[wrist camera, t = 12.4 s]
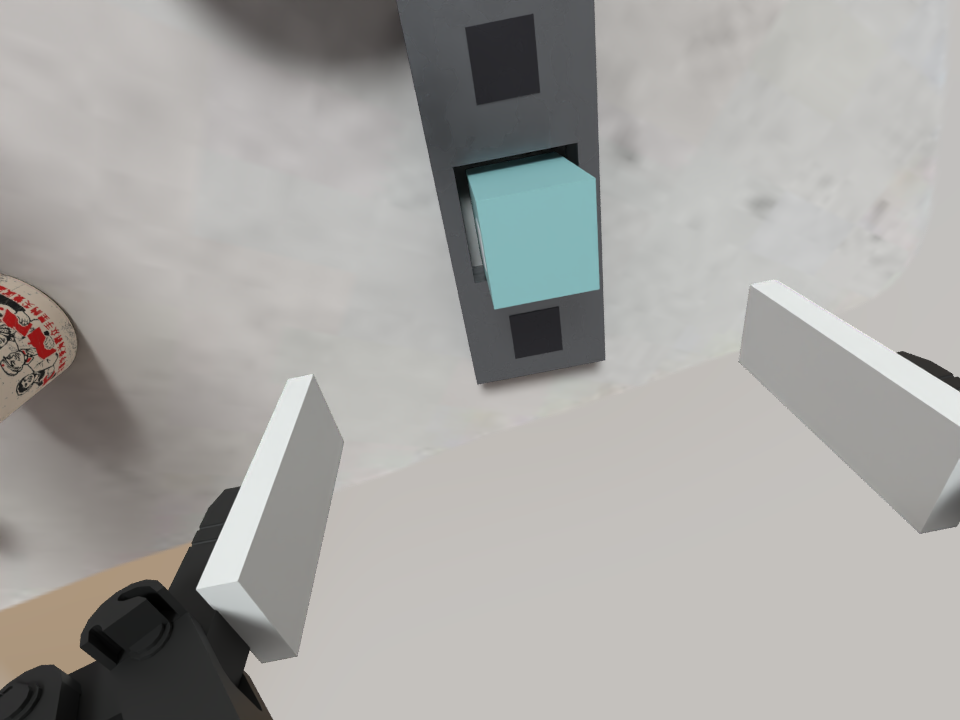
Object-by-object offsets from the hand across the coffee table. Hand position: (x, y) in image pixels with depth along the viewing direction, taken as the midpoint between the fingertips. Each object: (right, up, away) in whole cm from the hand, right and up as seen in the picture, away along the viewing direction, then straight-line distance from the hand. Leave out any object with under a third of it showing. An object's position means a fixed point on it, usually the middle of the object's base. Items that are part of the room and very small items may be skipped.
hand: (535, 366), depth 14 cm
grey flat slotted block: (+1, +11, +18) cm, 21 cm away
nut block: (+1, +11, +18) cm, 21 cm away
